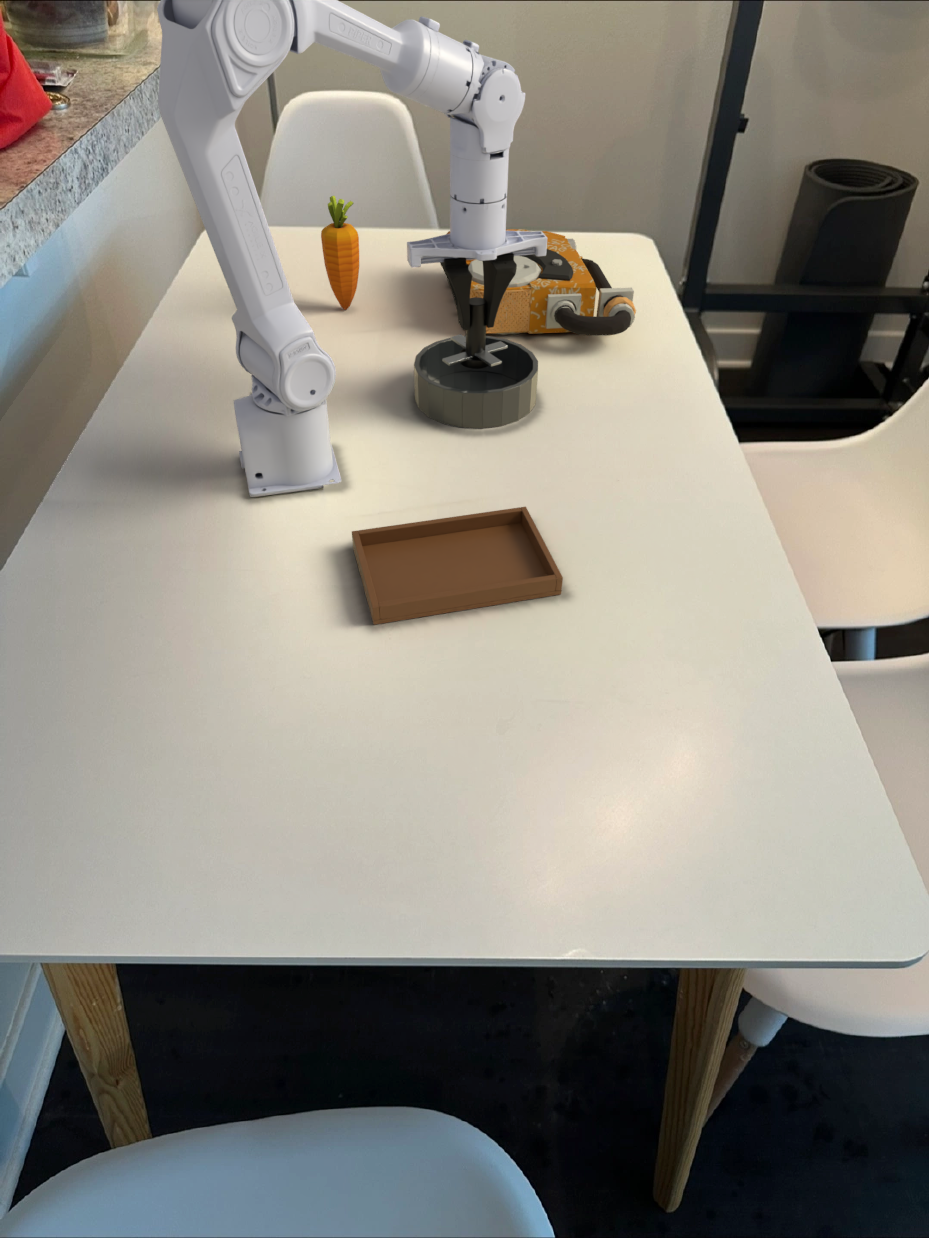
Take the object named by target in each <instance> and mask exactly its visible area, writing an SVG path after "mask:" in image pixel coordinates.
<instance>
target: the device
mask: <svg viewBox="0 0 929 1238" xmlns="http://www.w3.org/2000/svg"><path fill="white" fill-rule="evenodd" d="M506 231H530V230H528V229H526V228H518V229H517V228H516V229H515V228H511V229H509V228H508V229H507V228H506ZM541 231H542V232H543V233H544V234H545V236H546V237H547V250H546V256H536V255H535V254H532V255H520V256H514V261H515V263H516V264H517V269H516V274H515V276H514V277H513V279H512V280H511V282H510V284H509V285H508V287H507V289H506V291H505V293H504V295H503V297H502V300H501V302H500V305H499V308H498V311H497V315H496V318H495V322H494V327H491V328H488V327H487V326H486V335H487V334H492V335H500V336H503V335H516V334H517V335H519V334H522V333H528V335H529V334H533V335H534V334H556V333H557V334H558V333H560V334H561V333H573V334H576V335H582V336H589V337H590V336H614V335H615V336H616V335H619V334H622V333H624V332H625V331H627V330H628V329H629V328H631V326H632V325H633V324H634V321H635V318H636V312H637V310H636V307H635V304H634V302H633V301H634V293H635V290H634V289H633V287H612V285H611V283H610V282H609V280H608V279H607V277H606V276H605V274H604V272H603V270H602V268H601V267H600V266H599V264H598V263H596V262H595V261H594V260H592V259H588V258H583V256H580V254H579V252H578V251H577V244H576V243H577V242H576V240H575V239H574V238H567V237H566V235H563V234H559V233H555V232H552V231H549V230H548V231H547V230H541ZM446 234H450V230H448V231H447V232H446ZM466 263H467V264H468V265H469V266H468V270H469V271H470V273H471V274H472V282H471V289H470V298H474V297H479V298H483V295H484V275H483V261H479V260H477V259H475V260H466ZM597 291H598V300H597V309H596V315H595V307H596V297H597ZM594 315H595V316H594Z"/></svg>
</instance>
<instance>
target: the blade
mask: <svg viewBox="0 0 929 1238" xmlns="http://www.w3.org/2000/svg"><path fill="white" fill-rule="evenodd" d="M469 308H470V327H469V330H465V335H464V334H462V333H459V334H456V335H452V336H450V338H451V340H452V341H454V342H455V343H457V344H458V345H460V346H461V347H463V348H464V349H462V350H461V351H460V353H459V354H456V355H453V356H450V357H446V358H443V359H442V361H443V362H444V363H446V364H447V365H449V366H451V365H454V364H457V363H460V364H461V365H462V366H464V367H467V368H472V369H480V368H485V367H487V366H489V365H490V366H491V367H492V366H495V365H498V364H501V363H502V361H501V360H499V359H498V358H496V357H495V356H493V355H492V354H491V353H493V352H496V351H500V350H503V349H506V348H508V346H507V345H506V344H504V343H503V342H501V341H499V342H496V343H493V344H489V345H486V336H487V334H486V313H487V301H486V300H485V299H483V298H479V297H474V298H470V301H469ZM464 336H466V337H464Z"/></svg>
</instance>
